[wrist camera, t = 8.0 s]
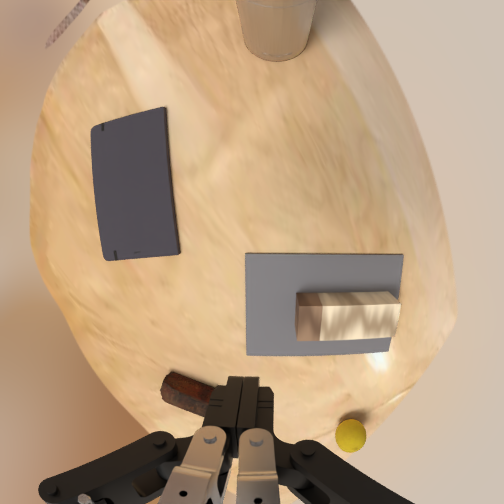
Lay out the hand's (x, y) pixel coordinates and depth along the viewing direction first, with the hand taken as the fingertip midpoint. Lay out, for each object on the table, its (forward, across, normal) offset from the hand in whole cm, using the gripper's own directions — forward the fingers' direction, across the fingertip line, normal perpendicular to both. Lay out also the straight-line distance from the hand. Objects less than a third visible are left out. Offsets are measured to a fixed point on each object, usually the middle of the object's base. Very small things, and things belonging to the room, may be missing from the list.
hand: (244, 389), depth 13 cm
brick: (+28, +12, +24) cm, 38 cm away
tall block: (+25, -5, +8) cm, 26 cm away
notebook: (+29, +19, -10) cm, 36 cm away
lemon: (+27, -16, +32) cm, 45 cm away
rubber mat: (+28, -9, +8) cm, 30 cm away
